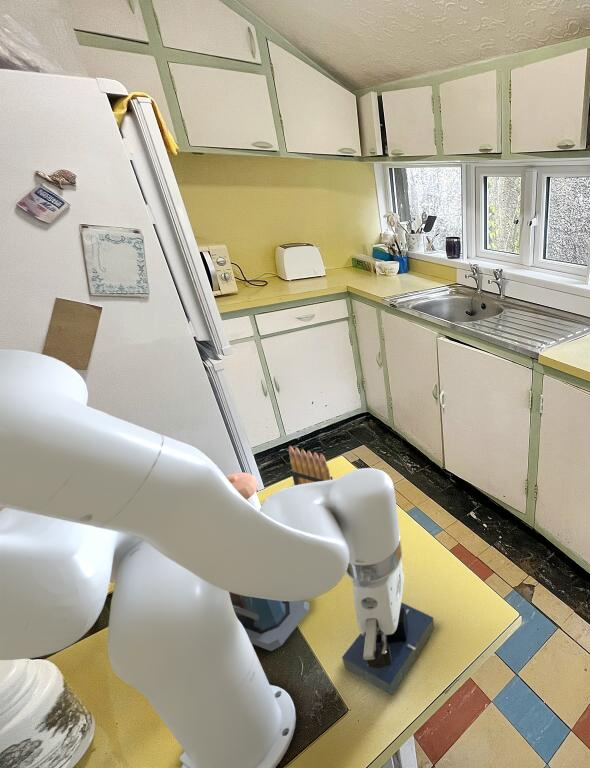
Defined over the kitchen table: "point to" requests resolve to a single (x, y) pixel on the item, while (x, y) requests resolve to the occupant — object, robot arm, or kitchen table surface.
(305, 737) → the kitchen table surface
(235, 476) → the salt shaker
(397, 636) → the switch handle
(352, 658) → the switch base
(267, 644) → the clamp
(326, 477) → the ammunition clip
